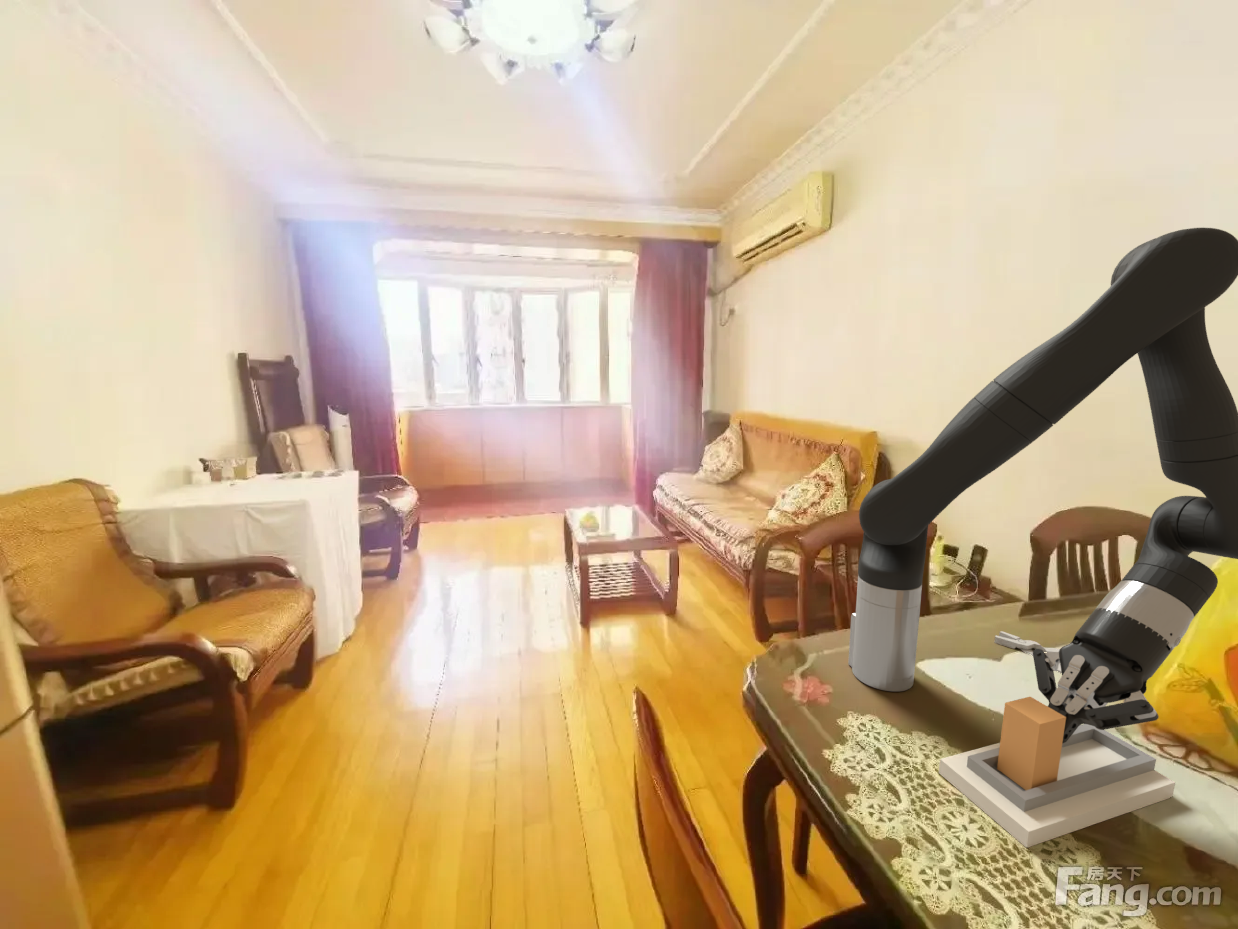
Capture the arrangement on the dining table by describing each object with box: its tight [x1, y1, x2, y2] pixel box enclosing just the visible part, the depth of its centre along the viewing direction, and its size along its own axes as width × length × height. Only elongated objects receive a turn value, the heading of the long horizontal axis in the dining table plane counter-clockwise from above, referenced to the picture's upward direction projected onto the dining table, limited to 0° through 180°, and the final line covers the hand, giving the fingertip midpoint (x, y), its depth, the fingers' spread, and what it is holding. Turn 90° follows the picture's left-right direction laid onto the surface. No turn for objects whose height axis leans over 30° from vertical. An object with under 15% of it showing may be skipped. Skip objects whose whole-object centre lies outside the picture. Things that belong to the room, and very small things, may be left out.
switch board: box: [938, 724, 1176, 848], centre depth 63 cm, size 11×23×4 cm, turn 106°
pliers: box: [993, 630, 1062, 674], centre depth 91 cm, size 10×2×15 cm
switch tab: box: [997, 696, 1066, 790], centre depth 61 cm, size 4×4×9 cm
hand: (1045, 738), depth 62 cm, fingers closed
